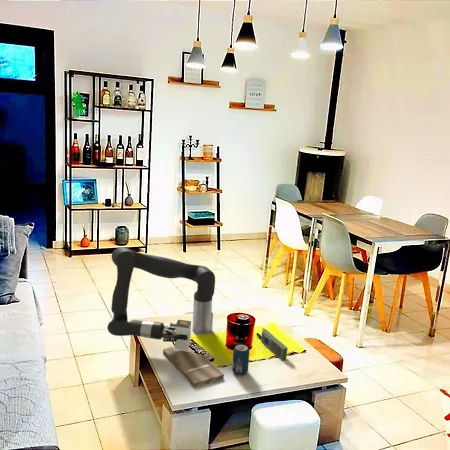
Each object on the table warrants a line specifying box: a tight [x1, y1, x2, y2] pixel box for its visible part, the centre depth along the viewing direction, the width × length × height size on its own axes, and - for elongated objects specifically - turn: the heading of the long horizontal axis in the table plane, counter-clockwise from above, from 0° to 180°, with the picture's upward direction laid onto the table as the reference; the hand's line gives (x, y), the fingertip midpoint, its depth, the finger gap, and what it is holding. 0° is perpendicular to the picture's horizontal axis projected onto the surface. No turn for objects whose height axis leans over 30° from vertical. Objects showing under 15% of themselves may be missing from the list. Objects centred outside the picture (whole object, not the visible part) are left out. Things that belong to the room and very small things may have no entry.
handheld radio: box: [256, 327, 288, 362], centre depth 225 cm, size 7×3×25 cm
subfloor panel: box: [162, 345, 225, 388], centre depth 206 cm, size 14×30×2 cm, turn 32°
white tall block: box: [174, 319, 192, 350], centre depth 212 cm, size 5×6×12 cm
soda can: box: [231, 343, 250, 377], centre depth 202 cm, size 7×7×12 cm
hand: (188, 334), depth 211 cm, fingers closed on white tall block, 5 cm apart
